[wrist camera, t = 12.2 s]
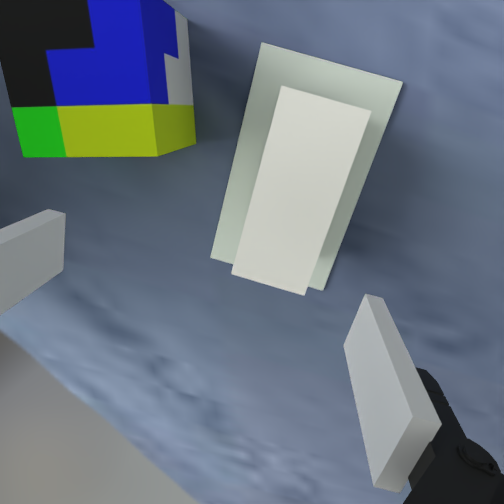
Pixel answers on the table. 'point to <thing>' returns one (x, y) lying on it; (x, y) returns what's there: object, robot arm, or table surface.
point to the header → (258, 126)
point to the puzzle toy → (97, 77)
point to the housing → (298, 188)
